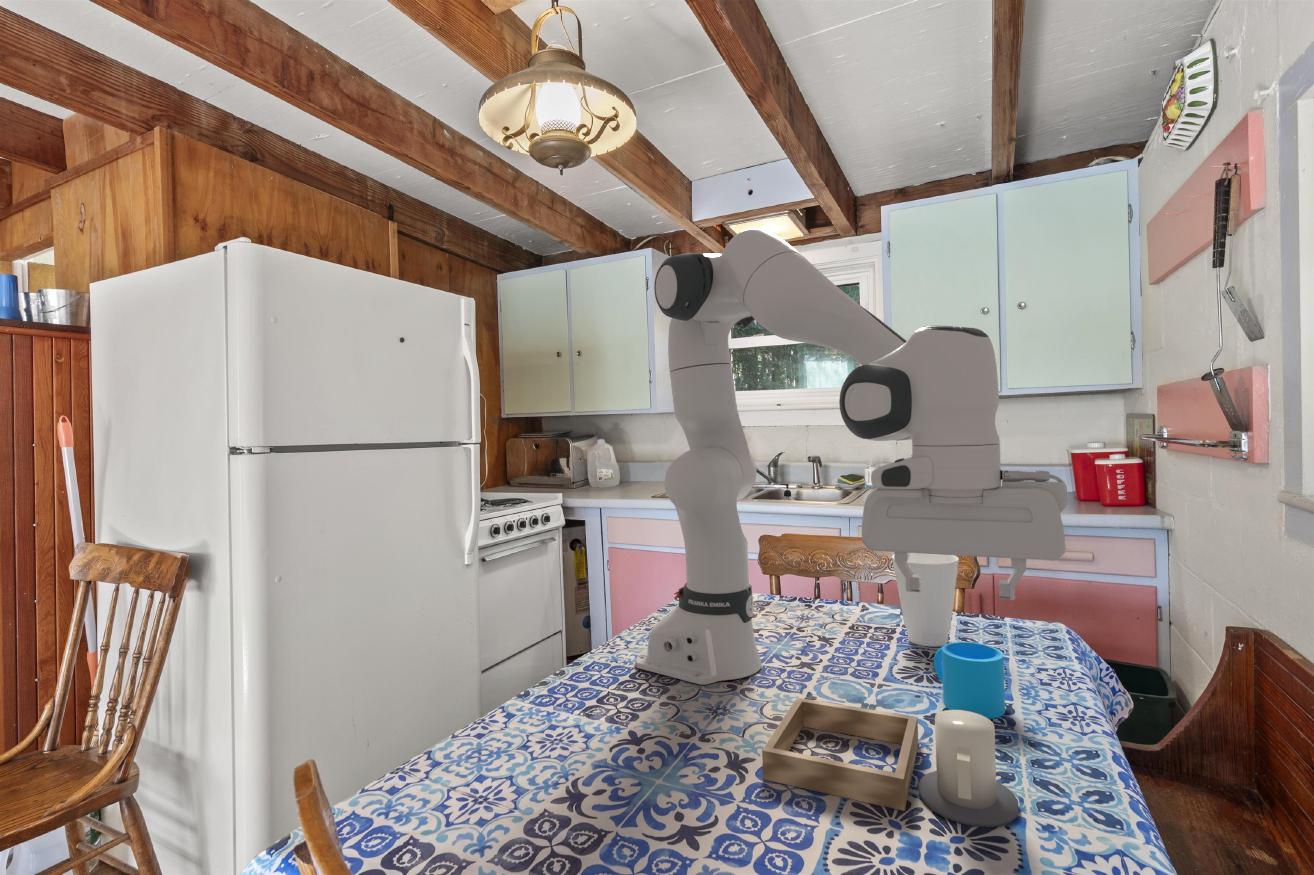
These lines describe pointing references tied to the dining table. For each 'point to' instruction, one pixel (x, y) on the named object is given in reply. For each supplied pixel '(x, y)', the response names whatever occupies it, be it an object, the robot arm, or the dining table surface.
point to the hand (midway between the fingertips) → (958, 594)
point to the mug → (972, 678)
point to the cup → (928, 597)
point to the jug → (965, 758)
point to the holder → (841, 775)
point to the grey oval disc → (985, 817)
